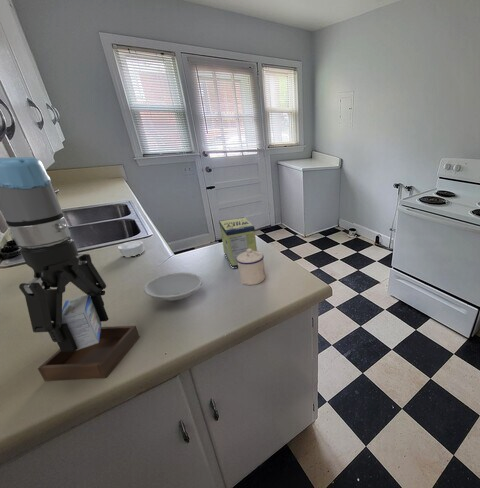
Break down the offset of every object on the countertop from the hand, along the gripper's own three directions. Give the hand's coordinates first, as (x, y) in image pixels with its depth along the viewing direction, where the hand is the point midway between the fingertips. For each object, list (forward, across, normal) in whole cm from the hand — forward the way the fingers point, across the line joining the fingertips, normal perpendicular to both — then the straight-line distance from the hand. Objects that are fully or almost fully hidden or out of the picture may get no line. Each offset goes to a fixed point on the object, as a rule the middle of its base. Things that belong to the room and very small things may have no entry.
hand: (86, 334), depth 61 cm
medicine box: (+1, 0, 0) cm, 1 cm away
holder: (+7, 0, 0) cm, 7 cm away
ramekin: (+6, +59, +25) cm, 64 cm away
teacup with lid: (+7, +35, -29) cm, 46 cm away
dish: (+7, +24, -8) cm, 26 cm away
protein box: (+7, +51, -22) cm, 56 cm away
